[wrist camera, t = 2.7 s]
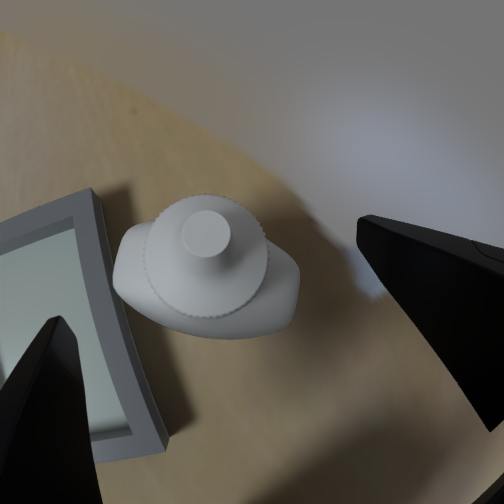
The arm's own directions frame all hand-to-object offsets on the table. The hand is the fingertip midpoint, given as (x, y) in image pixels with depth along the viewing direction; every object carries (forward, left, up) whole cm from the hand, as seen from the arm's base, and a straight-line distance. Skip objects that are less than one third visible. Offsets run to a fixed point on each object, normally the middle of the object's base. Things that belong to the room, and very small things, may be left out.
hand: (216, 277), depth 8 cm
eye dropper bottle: (0, 0, -8) cm, 8 cm away
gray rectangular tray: (0, +10, -8) cm, 13 cm away
